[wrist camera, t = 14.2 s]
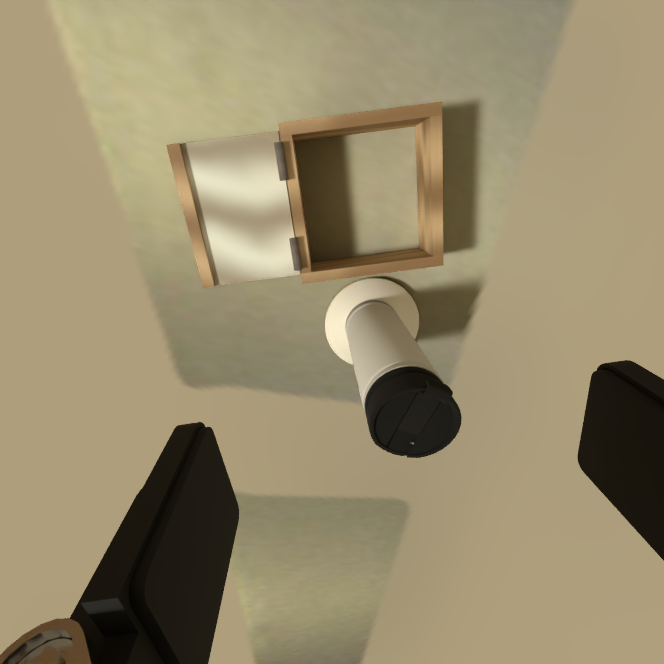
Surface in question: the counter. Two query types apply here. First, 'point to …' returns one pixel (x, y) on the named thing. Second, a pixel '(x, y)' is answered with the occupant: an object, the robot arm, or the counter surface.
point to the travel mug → (399, 384)
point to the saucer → (360, 293)
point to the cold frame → (293, 199)
